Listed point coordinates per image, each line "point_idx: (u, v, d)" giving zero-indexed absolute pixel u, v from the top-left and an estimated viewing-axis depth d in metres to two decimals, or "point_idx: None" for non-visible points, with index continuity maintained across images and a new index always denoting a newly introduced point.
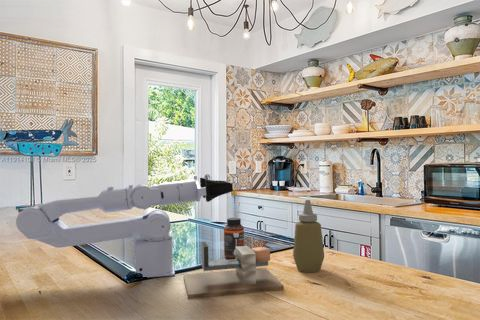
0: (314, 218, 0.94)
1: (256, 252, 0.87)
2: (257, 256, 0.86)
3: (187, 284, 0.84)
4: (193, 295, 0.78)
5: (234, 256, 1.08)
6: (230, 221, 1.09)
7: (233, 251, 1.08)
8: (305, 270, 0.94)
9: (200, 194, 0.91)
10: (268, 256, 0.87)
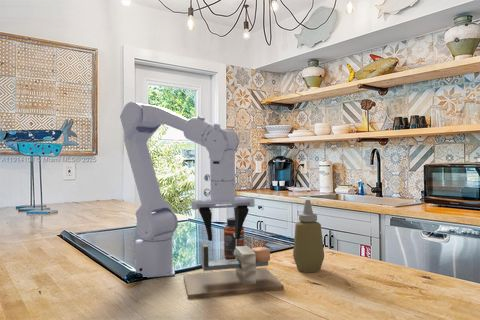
0: (314, 218, 0.94)
1: (256, 252, 0.87)
2: (257, 256, 0.86)
3: (187, 284, 0.84)
4: (193, 295, 0.78)
5: (234, 256, 1.08)
6: (230, 221, 1.09)
7: (233, 251, 1.08)
8: (305, 270, 0.94)
9: None
10: (268, 256, 0.87)
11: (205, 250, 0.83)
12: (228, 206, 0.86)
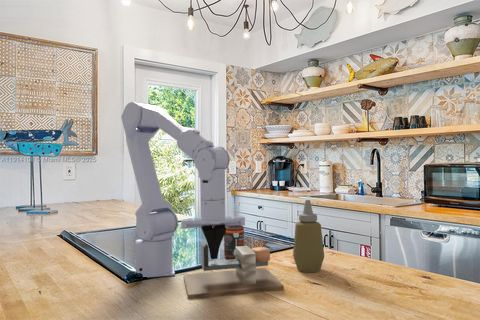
0: (314, 218, 0.94)
1: (256, 252, 0.86)
2: (257, 256, 0.86)
3: (187, 284, 0.84)
4: (193, 295, 0.78)
5: (234, 256, 1.08)
6: None
7: (233, 251, 1.08)
8: (305, 270, 0.94)
9: (181, 221, 0.85)
10: (268, 256, 0.87)
11: (205, 250, 0.83)
12: None
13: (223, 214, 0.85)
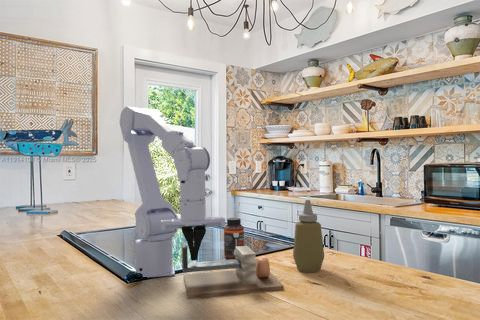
0: (314, 218, 0.94)
1: (267, 262, 0.87)
2: (264, 263, 0.87)
3: (187, 284, 0.84)
4: (193, 295, 0.78)
5: (234, 256, 1.08)
6: (230, 221, 1.09)
7: (233, 251, 1.08)
8: (305, 270, 0.94)
9: None
10: (263, 275, 0.87)
11: (184, 251, 0.82)
12: None
13: (203, 215, 0.84)
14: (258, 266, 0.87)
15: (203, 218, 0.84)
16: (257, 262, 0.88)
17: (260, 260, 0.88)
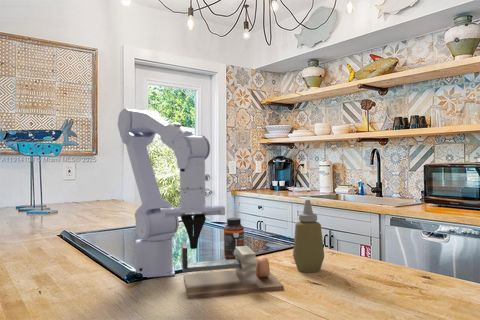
0: (314, 218, 0.94)
1: (267, 261, 0.88)
2: (264, 262, 0.87)
3: (187, 284, 0.84)
4: (193, 295, 0.78)
5: (234, 256, 1.08)
6: (230, 221, 1.09)
7: (233, 251, 1.08)
8: (305, 270, 0.94)
9: (160, 210, 0.84)
10: (263, 274, 0.87)
11: (184, 251, 0.82)
12: (198, 214, 0.85)
13: (202, 203, 0.84)
14: (258, 265, 0.87)
15: (203, 206, 0.84)
16: (257, 262, 0.88)
17: (260, 259, 0.88)
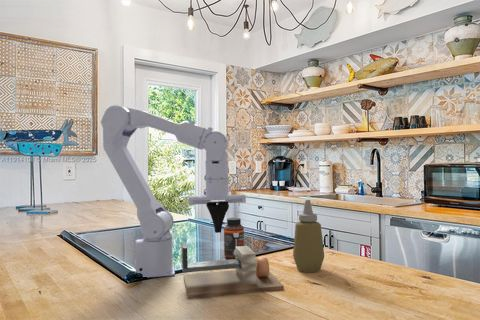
0: (314, 218, 0.94)
1: (267, 260, 0.88)
2: (263, 262, 0.88)
3: (187, 284, 0.84)
4: (193, 295, 0.78)
5: (234, 256, 1.08)
6: (230, 221, 1.09)
7: (233, 251, 1.08)
8: (305, 270, 0.94)
9: (188, 198, 0.94)
10: (263, 274, 0.87)
11: (184, 251, 0.82)
12: None
13: (226, 192, 0.94)
14: (257, 265, 0.88)
15: (226, 195, 0.94)
16: (256, 261, 0.89)
17: (259, 259, 0.88)
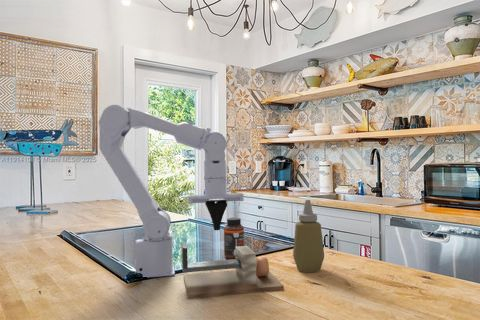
0: (314, 218, 0.94)
1: (266, 259, 0.88)
2: (262, 260, 0.88)
3: (187, 284, 0.84)
4: (193, 295, 0.78)
5: (234, 256, 1.08)
6: (230, 221, 1.09)
7: (233, 251, 1.08)
8: (305, 270, 0.94)
9: None
10: (263, 272, 0.87)
11: (184, 251, 0.82)
12: (220, 200, 0.98)
13: (224, 191, 0.97)
14: (257, 264, 0.88)
15: (224, 193, 0.97)
16: (256, 261, 0.89)
17: (258, 258, 0.89)
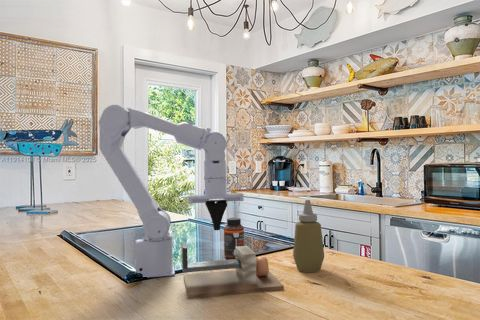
0: (314, 218, 0.94)
1: (265, 258, 0.89)
2: (262, 259, 0.89)
3: (187, 284, 0.84)
4: (193, 295, 0.78)
5: (234, 256, 1.08)
6: (230, 221, 1.09)
7: (233, 251, 1.08)
8: (305, 270, 0.94)
9: None
10: (262, 271, 0.87)
11: (184, 251, 0.82)
12: (220, 200, 0.98)
13: (224, 191, 0.97)
14: (256, 263, 0.89)
15: (224, 193, 0.97)
16: None
17: (258, 257, 0.89)
